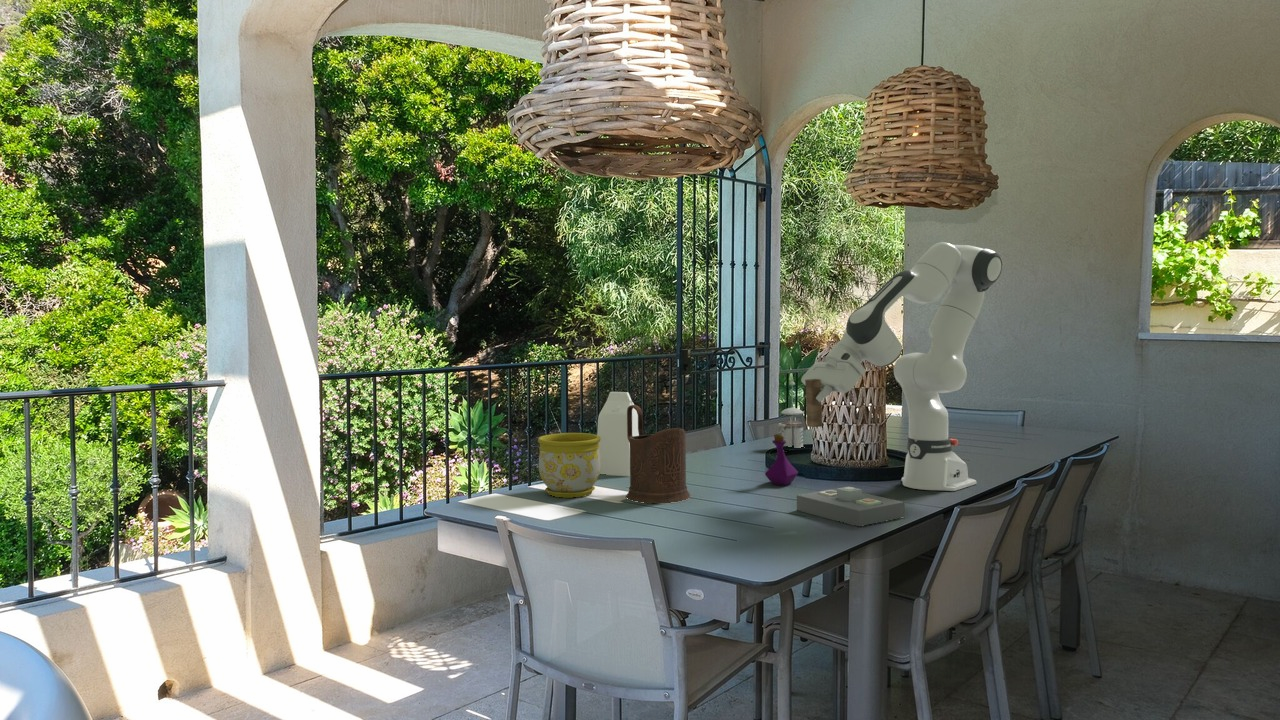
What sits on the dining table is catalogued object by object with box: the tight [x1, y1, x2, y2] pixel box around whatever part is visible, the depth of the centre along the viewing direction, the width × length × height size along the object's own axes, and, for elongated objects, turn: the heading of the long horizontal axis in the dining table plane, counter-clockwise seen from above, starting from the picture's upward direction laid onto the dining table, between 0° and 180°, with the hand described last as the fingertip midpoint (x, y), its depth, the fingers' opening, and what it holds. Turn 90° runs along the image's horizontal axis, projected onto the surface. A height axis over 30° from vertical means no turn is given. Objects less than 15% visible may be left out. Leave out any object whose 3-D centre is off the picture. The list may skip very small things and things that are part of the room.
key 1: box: [819, 489, 837, 497], centre depth 242 cm, size 4×4×4 cm
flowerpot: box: [537, 432, 601, 499], centre depth 265 cm, size 18×18×16 cm
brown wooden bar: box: [804, 379, 823, 428], centre depth 254 cm, size 3×3×13 cm
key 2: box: [856, 498, 881, 506], centre depth 231 cm, size 4×4×4 cm
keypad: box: [796, 487, 905, 527], centre depth 237 cm, size 16×22×4 cm
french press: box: [780, 381, 804, 448], centre depth 337 cm, size 10×12×25 cm
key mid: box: [837, 486, 863, 502], centre depth 237 cm, size 4×4×4 cm
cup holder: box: [625, 404, 691, 504], centre depth 262 cm, size 18×24×25 cm
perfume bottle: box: [764, 423, 799, 486], centre depth 275 cm, size 8×8×18 cm
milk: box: [596, 391, 639, 477], centre depth 297 cm, size 12×12×26 cm
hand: (812, 399), depth 254 cm, fingers closed on brown wooden bar, 3 cm apart
